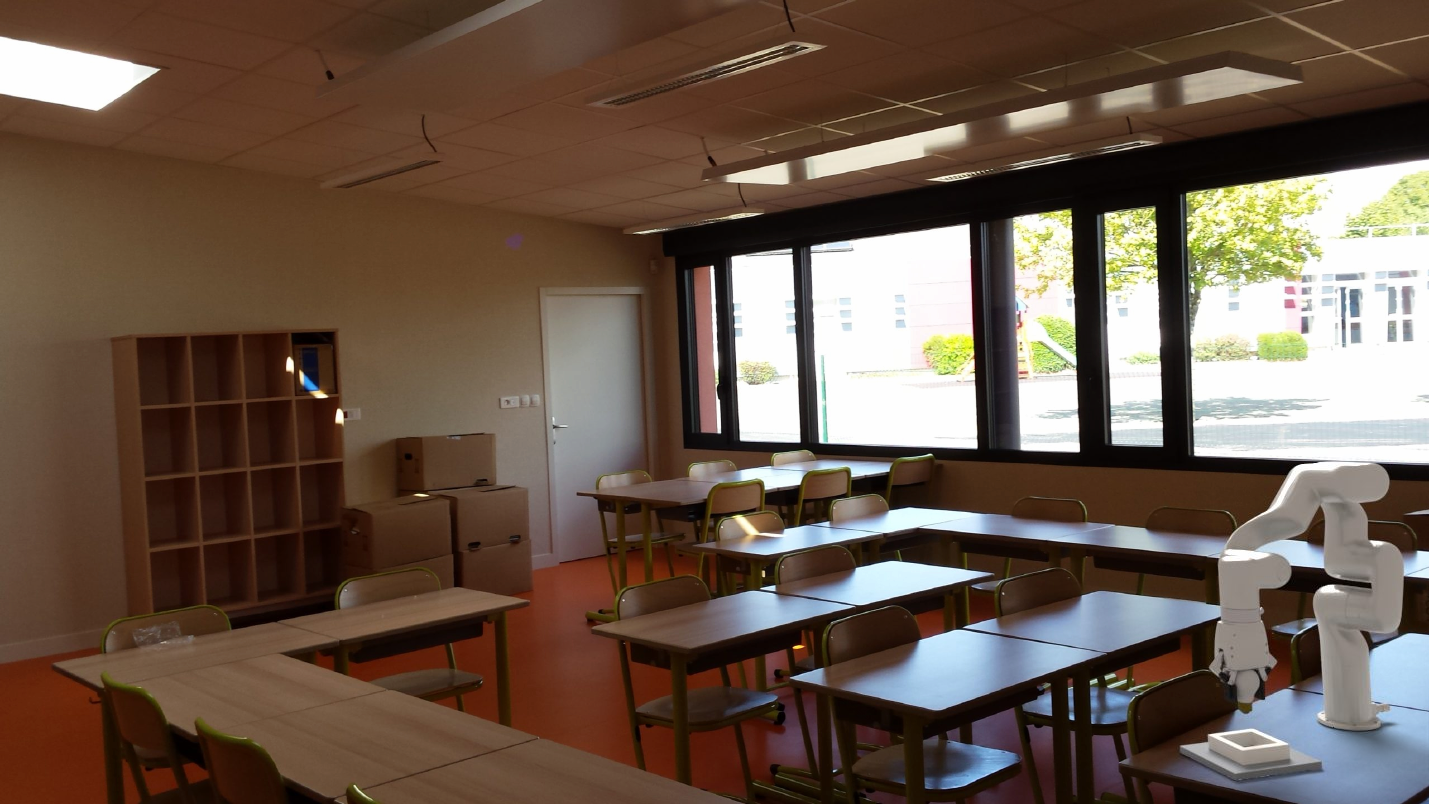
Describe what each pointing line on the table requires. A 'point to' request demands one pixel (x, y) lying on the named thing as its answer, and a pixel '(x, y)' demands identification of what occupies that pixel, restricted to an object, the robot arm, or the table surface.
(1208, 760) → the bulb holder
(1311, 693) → the table surface
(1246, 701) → the light bulb
